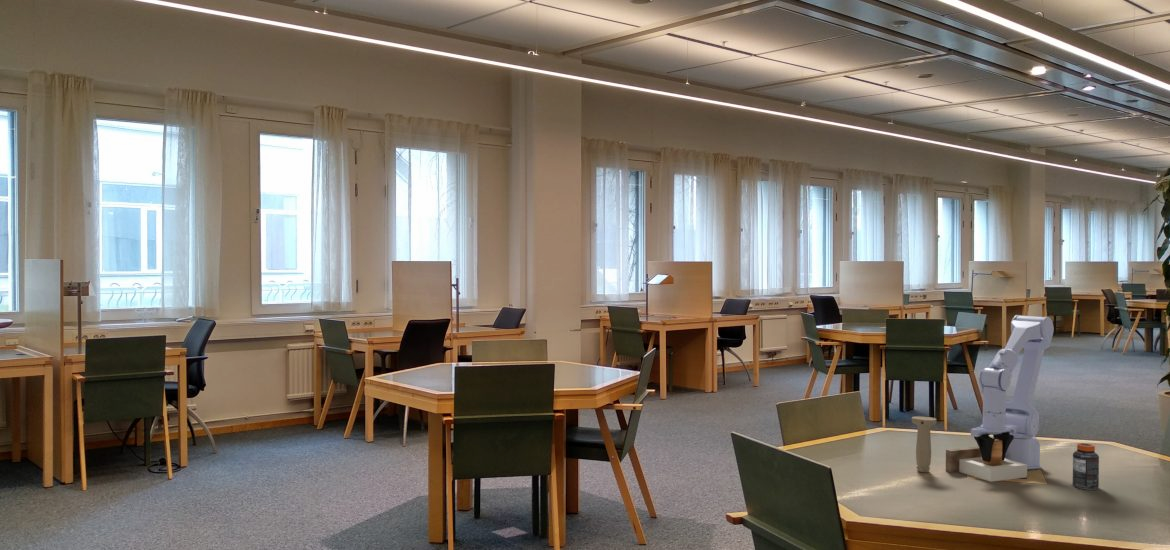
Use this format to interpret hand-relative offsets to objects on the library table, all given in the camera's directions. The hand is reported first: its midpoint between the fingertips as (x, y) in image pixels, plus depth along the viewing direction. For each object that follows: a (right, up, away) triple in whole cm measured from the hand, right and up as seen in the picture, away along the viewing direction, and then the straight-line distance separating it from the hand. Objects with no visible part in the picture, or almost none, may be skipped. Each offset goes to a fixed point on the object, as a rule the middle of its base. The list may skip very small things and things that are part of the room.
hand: (993, 460), depth 237 cm
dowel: (0, -2, 0) cm, 2 cm away
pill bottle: (+18, -5, -12) cm, 22 cm away
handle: (-18, -4, +3) cm, 19 cm away
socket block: (0, -4, 0) cm, 4 cm away
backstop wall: (-2, -4, +6) cm, 8 cm away
